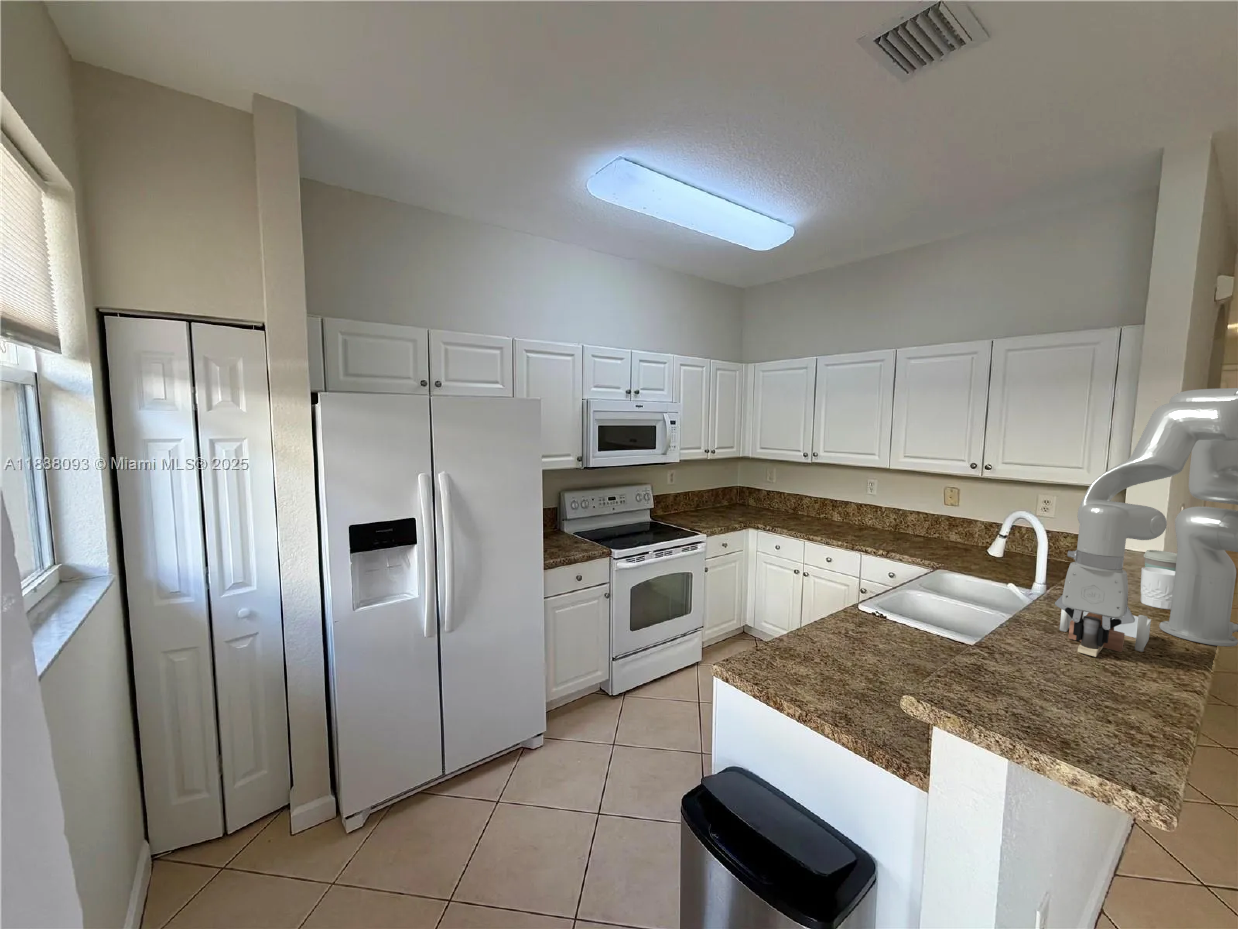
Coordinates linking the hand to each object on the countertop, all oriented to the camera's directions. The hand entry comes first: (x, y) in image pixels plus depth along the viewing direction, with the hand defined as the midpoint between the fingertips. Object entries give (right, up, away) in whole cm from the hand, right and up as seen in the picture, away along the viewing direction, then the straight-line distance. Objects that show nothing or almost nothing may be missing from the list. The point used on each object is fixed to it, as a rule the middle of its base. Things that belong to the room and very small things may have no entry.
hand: (1089, 641), depth 113 cm
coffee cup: (+64, 0, +46) cm, 79 cm away
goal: (+13, -2, +10) cm, 17 cm away
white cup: (+49, -1, +32) cm, 59 cm away
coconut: (+8, -3, +6) cm, 10 cm away
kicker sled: (+2, -2, +2) cm, 3 cm away
